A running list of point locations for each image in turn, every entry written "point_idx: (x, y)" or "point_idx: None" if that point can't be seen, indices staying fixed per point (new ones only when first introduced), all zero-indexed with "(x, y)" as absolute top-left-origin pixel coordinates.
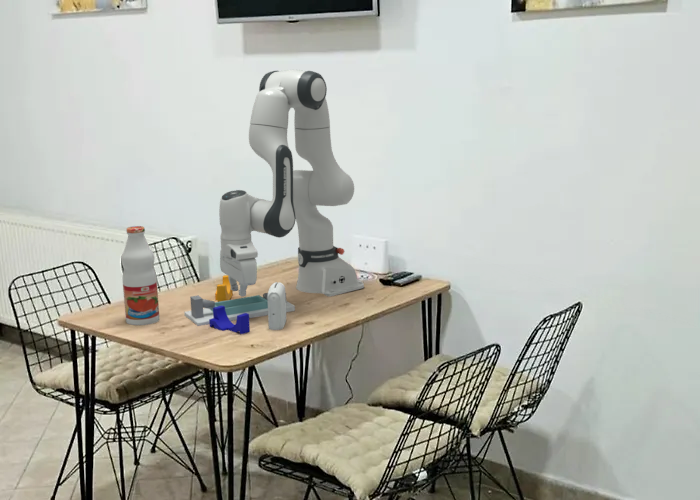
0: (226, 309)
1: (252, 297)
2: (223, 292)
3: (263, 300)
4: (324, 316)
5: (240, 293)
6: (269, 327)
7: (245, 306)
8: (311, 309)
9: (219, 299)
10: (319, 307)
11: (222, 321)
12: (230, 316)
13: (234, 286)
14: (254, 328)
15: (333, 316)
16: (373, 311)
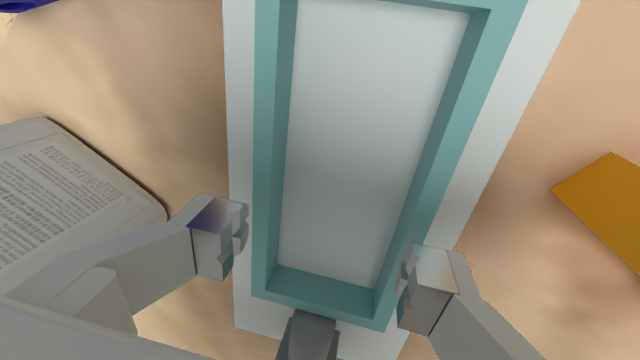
0: (258, 32)
1: (381, 296)
2: (637, 242)
3: (293, 294)
4: (151, 316)
5: (187, 206)
6: (25, 121)
7: (255, 181)
8: (229, 338)
9: (632, 184)
10: (234, 356)
11: None
12: (240, 41)
13: (407, 291)
14: (100, 85)
15: (143, 326)
16: None
